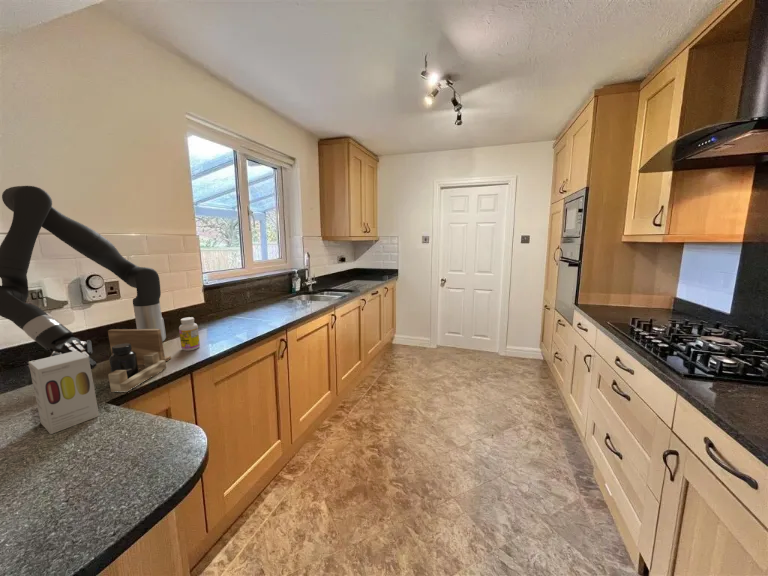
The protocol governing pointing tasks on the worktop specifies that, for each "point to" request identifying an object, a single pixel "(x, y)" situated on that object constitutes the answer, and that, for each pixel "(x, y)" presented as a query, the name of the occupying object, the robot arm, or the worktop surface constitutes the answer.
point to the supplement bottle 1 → (124, 359)
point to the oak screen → (139, 342)
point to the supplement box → (64, 390)
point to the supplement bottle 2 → (189, 334)
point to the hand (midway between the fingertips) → (93, 367)
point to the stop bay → (124, 384)
